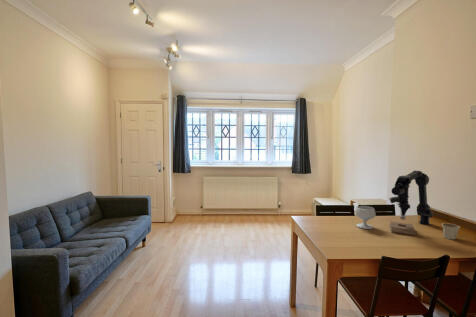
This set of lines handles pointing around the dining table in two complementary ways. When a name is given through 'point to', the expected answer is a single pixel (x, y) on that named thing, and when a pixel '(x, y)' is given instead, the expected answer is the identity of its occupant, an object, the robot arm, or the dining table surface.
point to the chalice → (365, 216)
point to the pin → (401, 215)
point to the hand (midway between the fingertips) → (402, 214)
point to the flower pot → (450, 230)
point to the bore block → (402, 228)
